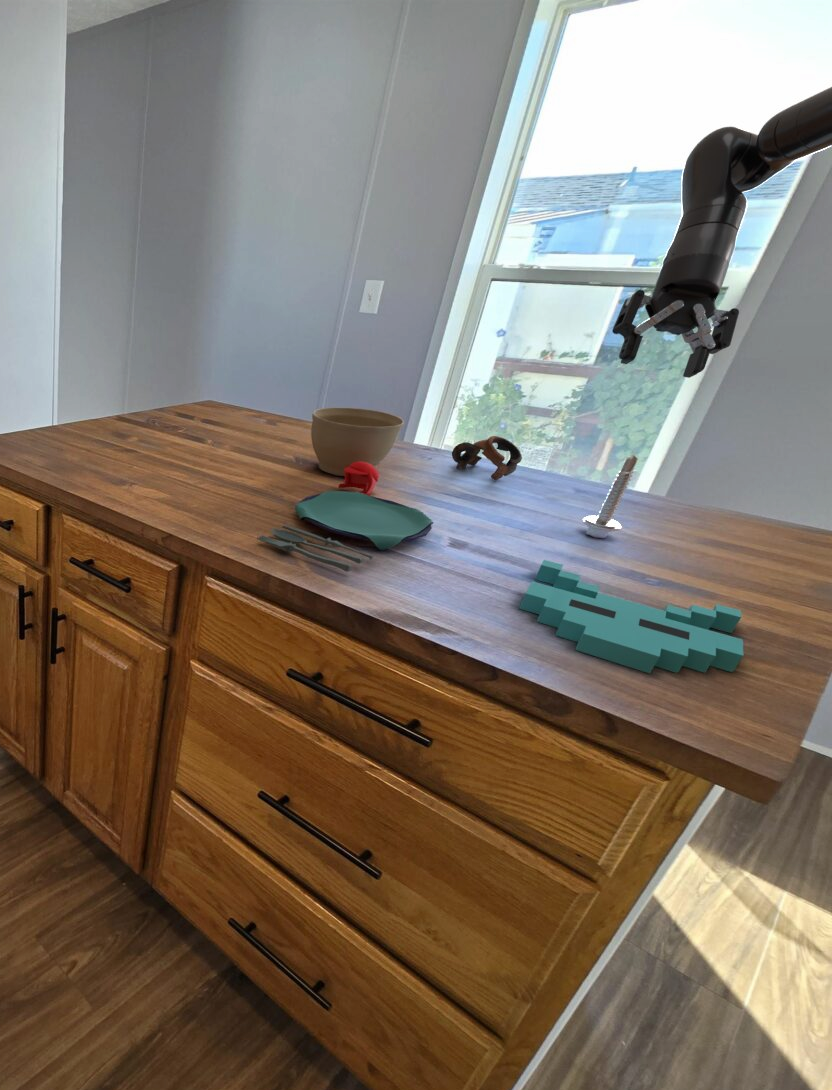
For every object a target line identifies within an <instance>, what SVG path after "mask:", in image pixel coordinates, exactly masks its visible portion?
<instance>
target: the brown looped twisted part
mask: <svg viewBox="0 0 832 1090" xmlns="http://www.w3.org/2000/svg"><path fill="white" fill-rule="evenodd" d="M493 444H497V446H496V447H495V446H494V445H493ZM481 451H482V452H481ZM498 451H503V452H509V455H510V456H509V459H508V461H507V462H506V463H504V461H505V460H506V457H505V455H503V454H501V453H500V452H498ZM480 452H481V454H482V455H483V456H484V457H485V458H486V459H487V460H488V461H490V462H491V464H493V466H495V467H497V468H496V469H495V471H494V472H493V473H492V474H491V475H490V479H492V480H494V481H498V480H500V479H502V478H503V477H507V476H509V475H511V474H513V473H514V472H515V471H516V470H517V468H518V464H519V463H521V462H522V460H523V457H522V456H523V455H522V454H521V451H520V449H519V448H518V447H517V446H516V445H515V444H514V443H513V442H512V441H510V440H508V439H506V438H504V437H501V436H498V435H491V436H490V437H489V438H487V439H480V440H478V441H476V442H474V443H471V442H469V441H468V442H466V441H464V442H461V443H458V444H457V445H455V446H454V448H452V451H451V457H452V460H453V461H454V462H455V463H456V465H455V469H457V470H459V469H461V470H465V469H466V468H467V466H468V465H469V466H472V467H475V466H476V465H477V463H479V462H480V461H481V460H482V459H483V458H482V456H479V453H480ZM462 453H463V454H462Z"/></svg>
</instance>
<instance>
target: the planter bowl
mask: <svg viewBox="0 0 832 1090" xmlns="http://www.w3.org/2000/svg"><path fill="white" fill-rule="evenodd" d="M311 418H312V422H311V428H310V429H311V430H310V437H311V445H312V449H313V452H314V454H315V456H316V458H317V459H318V468H319V469H320V470H321V471H322V472H325V473H328V474H330V475H334V476H340V477H345V471H344V469H345V468H347V467H349V465H351V464H352V463H353V462H359V461H361V462H367V463H369V464H371V465H373V466H374V467H375V468H376V466H377V465H379V464H380V463H381V462H382V461H383V460H384V459H385V458H386V457H387V456H388V454H389V453H390V452H391V451H392V449H393V448H394V446H395V444H396V442H397V440H398V438H399V435H400V432H401V430H402V428H403V427H404V424H405V421H404V419H403V418H402V417H400V416H397V415H395V414H392V413H389V412H384V411H380V410H375V409H374V410H373V409H367V408H358V407H341V406H340V407H332V406H331V407H323V408H317V409H315V410H313V412H312V415H311Z"/></svg>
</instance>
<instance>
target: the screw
mask: <svg viewBox="0 0 832 1090" xmlns="http://www.w3.org/2000/svg"><path fill="white" fill-rule="evenodd" d="M638 460H639V458H638V457H636V456H635V455H630V456H628V457H627V458H626V459H625V461H624V463H623V465H622V467H621V469H620V470H619V471H618V474H616V478H614V482H612V485H611V486H610V488H611V489H609V492H608V493H607V496H606V497H605V498H606V499H605V500H604V503H602V507H600V509H601V510H599V514H597V516H596V515H588V516H586V517H583V518H582V519H581V522H582V523H583V524H584V525H586V526H587V527H588V528H587V531H586V533H585V534H586V535H588V536H591V537H593V538H598V539H605V538H606V537H607V536H608V534H609V533H610V532H616V531H620V530H621V529H622V525H621V524H620V523H619V522H618V521H616V520H614V519H612V518H613V517H614V514H616V510H617V507H619V504H620V503H621V501H620V500H622V499H623V498H622V497H623V496H624V493H626V489H627V488H628V485H630V483H629V482H630V481H632V479H631V478H632V477H633V473H634V469H635V467H636V465H637V462H638Z"/></svg>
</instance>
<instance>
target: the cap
mask: <svg viewBox="0 0 832 1090" xmlns="http://www.w3.org/2000/svg"><path fill="white" fill-rule="evenodd" d="M344 471H345V476H344V482H343V483H339V484H338V489H346V488H353V489H354V488H355V489H360V491H358V492H359V493H363V494H366V495H368V496H371V495H372V494H373V492H374V489H375V487H376V485H377V483H378V481H379V479H380V474H379V472H378V469H377V468H376V466H375V467H374V466H373V465H371V464H369V463H367V462H361V461H359V462H353V463H352V464H351V465H349V467H347V468H345V469H344Z"/></svg>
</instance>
